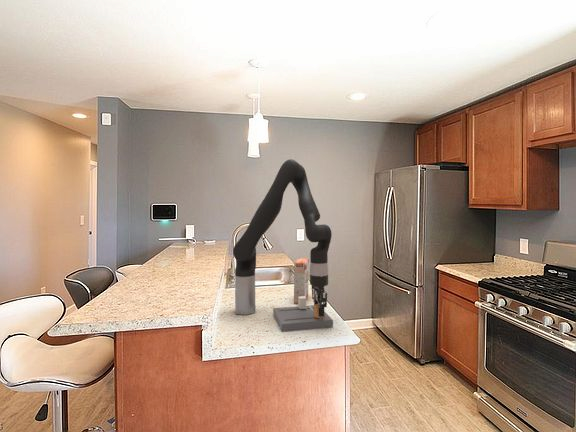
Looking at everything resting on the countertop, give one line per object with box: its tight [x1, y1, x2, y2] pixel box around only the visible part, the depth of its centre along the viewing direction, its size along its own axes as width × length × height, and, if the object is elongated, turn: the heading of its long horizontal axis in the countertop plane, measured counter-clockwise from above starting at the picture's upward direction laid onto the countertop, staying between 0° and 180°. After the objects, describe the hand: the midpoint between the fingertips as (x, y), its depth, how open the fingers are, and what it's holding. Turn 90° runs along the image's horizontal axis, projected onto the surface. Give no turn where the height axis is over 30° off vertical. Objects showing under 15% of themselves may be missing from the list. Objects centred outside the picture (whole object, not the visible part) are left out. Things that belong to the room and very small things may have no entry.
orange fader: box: [313, 303, 322, 318], centre depth 132 cm, size 3×3×5 cm
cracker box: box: [293, 257, 310, 304], centre depth 167 cm, size 14×6×21 cm, turn 168°
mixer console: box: [272, 304, 334, 333], centre depth 137 cm, size 21×20×3 cm
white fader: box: [297, 296, 308, 309], centre depth 143 cm, size 3×3×5 cm
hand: (319, 313), depth 132 cm, fingers open, 6 cm apart
